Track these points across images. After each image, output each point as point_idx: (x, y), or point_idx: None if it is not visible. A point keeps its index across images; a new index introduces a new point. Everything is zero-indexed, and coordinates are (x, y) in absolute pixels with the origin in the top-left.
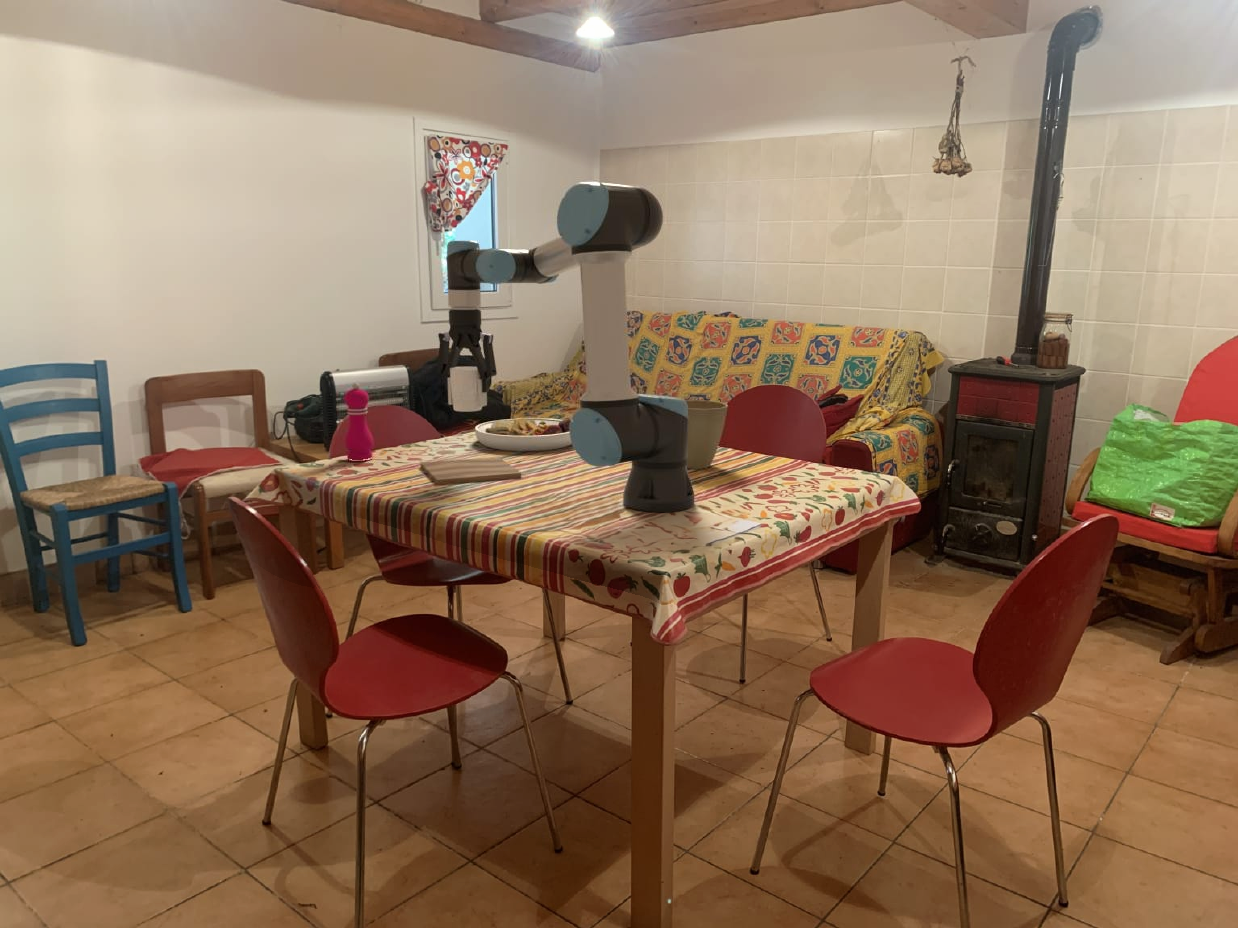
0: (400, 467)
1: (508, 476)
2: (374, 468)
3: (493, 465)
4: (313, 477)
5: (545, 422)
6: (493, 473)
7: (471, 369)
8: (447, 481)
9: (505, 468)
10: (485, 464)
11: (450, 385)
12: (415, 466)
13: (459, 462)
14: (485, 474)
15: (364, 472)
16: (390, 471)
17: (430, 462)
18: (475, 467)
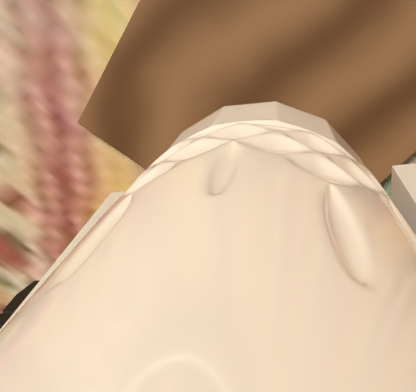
0: (41, 147)
1: None
2: (5, 191)
3: (332, 7)
4: (4, 308)
5: None
6: (408, 126)
7: (62, 368)
8: None
9: (413, 28)
10: (289, 11)
11: None
12: (59, 113)
13: (176, 42)
14: (388, 152)
15: (31, 234)
16: (66, 197)
17: (98, 102)
18: (287, 81)
